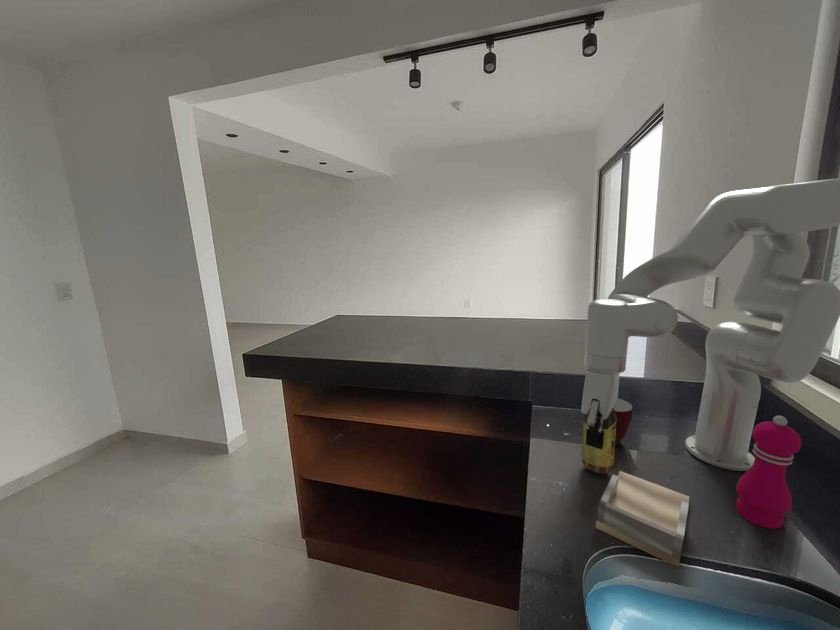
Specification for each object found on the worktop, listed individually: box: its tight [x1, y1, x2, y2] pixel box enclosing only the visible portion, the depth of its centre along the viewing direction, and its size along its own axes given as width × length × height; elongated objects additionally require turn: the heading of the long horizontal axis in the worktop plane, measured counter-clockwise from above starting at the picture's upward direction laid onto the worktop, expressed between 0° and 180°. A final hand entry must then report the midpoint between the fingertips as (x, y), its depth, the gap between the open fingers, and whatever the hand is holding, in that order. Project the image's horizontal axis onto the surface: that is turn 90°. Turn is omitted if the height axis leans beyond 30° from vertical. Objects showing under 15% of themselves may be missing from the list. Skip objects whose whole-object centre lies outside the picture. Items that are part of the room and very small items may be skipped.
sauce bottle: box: [581, 408, 617, 474], centre depth 75 cm, size 7×6×20 cm
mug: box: [614, 397, 634, 445], centre depth 89 cm, size 11×8×10 cm
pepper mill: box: [735, 415, 802, 529], centre depth 63 cm, size 7×7×20 cm
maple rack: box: [595, 470, 690, 568], centre depth 65 cm, size 18×12×5 cm, turn 139°
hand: (598, 438), depth 76 cm, fingers closed on sauce bottle, 6 cm apart
